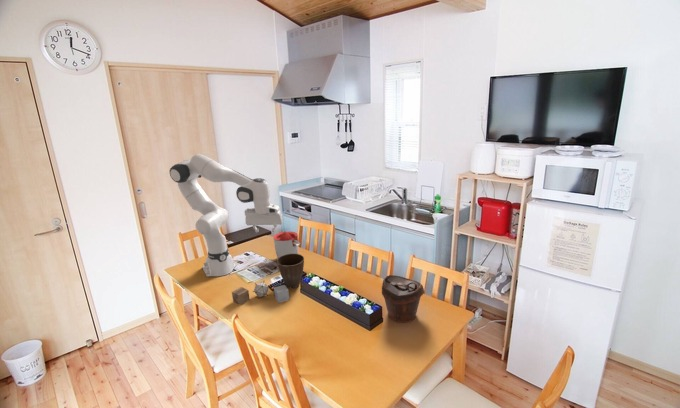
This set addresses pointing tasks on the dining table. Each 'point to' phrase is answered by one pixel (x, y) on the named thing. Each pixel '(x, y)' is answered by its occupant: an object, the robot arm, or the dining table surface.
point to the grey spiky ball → (261, 289)
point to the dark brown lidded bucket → (401, 297)
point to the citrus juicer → (286, 243)
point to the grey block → (281, 293)
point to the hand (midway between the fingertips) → (265, 232)
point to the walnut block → (240, 296)
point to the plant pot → (291, 269)
